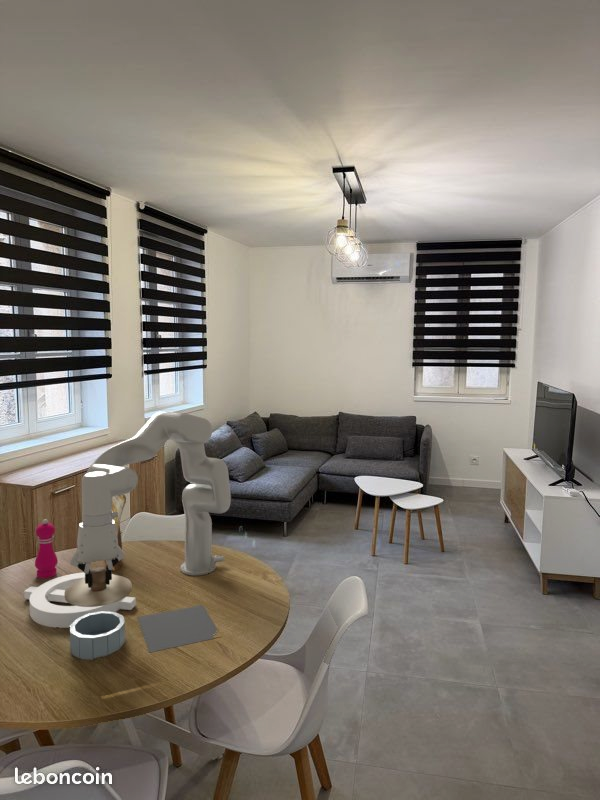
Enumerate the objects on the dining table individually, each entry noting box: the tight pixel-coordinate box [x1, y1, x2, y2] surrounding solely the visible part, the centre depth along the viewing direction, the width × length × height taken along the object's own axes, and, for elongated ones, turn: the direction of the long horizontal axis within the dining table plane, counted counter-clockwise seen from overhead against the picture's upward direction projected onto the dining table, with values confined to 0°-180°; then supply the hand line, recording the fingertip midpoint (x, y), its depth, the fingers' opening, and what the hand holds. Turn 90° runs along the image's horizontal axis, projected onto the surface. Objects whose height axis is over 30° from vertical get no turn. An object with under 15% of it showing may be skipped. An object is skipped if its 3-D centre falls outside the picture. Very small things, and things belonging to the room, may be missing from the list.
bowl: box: [69, 611, 126, 661], centre depth 150 cm, size 14×14×6 cm
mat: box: [137, 604, 219, 653], centre depth 160 cm, size 20×20×1 cm
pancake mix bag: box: [105, 494, 127, 572], centre depth 203 cm, size 7×19×28 cm, turn 24°
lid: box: [65, 566, 133, 607], centre depth 149 cm, size 17×17×6 cm
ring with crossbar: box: [23, 571, 137, 629], centre depth 173 cm, size 28×28×5 cm
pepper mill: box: [34, 518, 58, 579], centre depth 192 cm, size 7×7×20 cm
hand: (98, 583), depth 149 cm, fingers closed on lid, 4 cm apart
